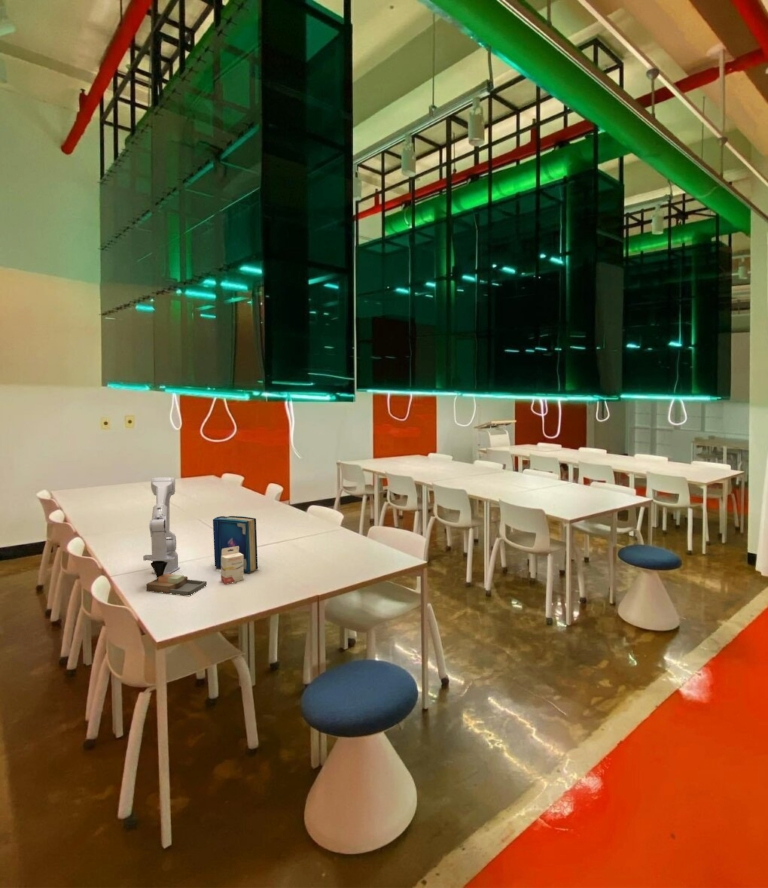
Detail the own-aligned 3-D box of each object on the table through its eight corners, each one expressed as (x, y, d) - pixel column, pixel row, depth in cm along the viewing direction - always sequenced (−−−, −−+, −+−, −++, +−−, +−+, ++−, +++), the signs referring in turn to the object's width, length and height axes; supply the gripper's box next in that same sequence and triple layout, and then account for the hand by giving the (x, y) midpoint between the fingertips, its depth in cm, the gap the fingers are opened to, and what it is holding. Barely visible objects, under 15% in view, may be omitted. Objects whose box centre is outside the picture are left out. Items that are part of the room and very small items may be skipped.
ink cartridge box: (225, 584, 212) (225, 551, 211) (220, 581, 216) (220, 548, 214) (244, 580, 217) (243, 547, 216) (239, 577, 221) (239, 545, 220)
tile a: (165, 577, 211) (165, 573, 211) (174, 578, 210) (174, 574, 210) (158, 581, 206) (158, 576, 206) (167, 582, 205) (167, 577, 205)
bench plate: (165, 580, 215) (165, 574, 215) (187, 583, 213) (187, 576, 212) (146, 591, 204) (146, 584, 203) (169, 593, 201) (169, 586, 201)
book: (211, 568, 232) (210, 516, 230) (221, 563, 239) (220, 513, 237) (249, 574, 224) (248, 521, 222) (258, 569, 231) (258, 517, 229)
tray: (188, 583, 213) (188, 579, 213) (206, 585, 211) (206, 581, 210) (170, 593, 201) (170, 589, 201) (189, 596, 199) (189, 591, 199)
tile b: (174, 578, 210) (174, 574, 210) (183, 579, 209) (183, 575, 208) (167, 582, 205) (167, 577, 205) (176, 583, 204) (176, 579, 204)
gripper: (137, 547, 205) (138, 579, 207) (167, 550, 202) (168, 582, 203) (149, 543, 212) (150, 573, 213) (178, 546, 209) (179, 577, 210)
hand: (159, 577), depth 209 cm, fingers closed
